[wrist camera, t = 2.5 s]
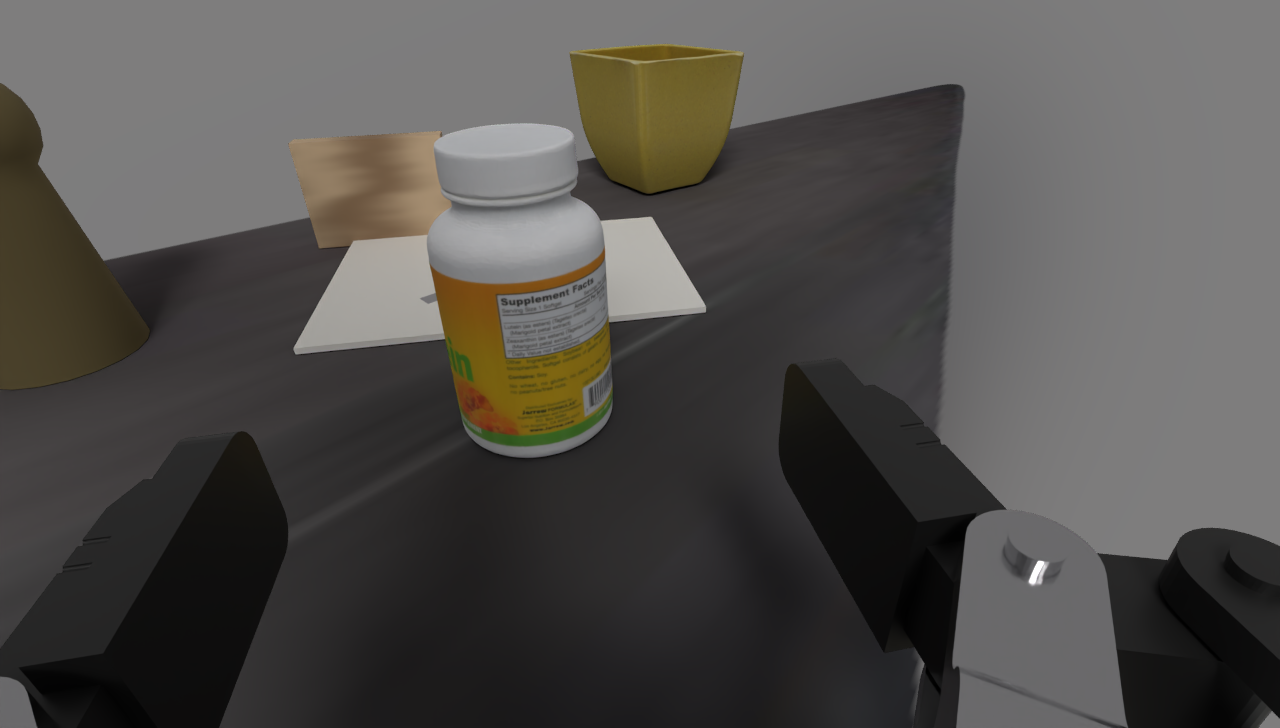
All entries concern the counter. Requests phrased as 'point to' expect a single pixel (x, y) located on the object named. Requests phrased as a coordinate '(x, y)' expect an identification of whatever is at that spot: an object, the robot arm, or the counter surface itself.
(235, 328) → the counter surface
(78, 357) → the olive chess pawn
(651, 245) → the paper
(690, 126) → the flower pot
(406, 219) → the wooden block
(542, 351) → the supplement bottle
